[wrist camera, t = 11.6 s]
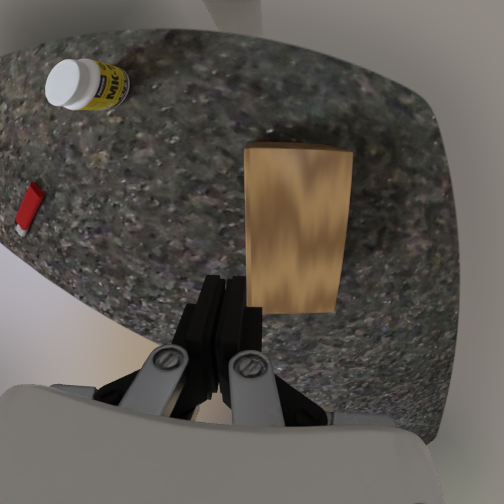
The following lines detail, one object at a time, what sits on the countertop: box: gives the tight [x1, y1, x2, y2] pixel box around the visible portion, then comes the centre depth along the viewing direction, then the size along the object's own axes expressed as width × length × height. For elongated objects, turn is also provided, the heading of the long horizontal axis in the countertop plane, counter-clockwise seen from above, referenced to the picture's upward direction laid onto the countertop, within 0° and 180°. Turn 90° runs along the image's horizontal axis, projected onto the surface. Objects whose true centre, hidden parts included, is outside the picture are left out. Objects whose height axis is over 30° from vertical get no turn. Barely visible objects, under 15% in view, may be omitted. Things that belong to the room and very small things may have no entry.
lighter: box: [15, 182, 44, 236], centre depth 27 cm, size 3×1×8 cm
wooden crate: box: [244, 142, 353, 314], centre depth 23 cm, size 13×8×7 cm
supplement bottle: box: [45, 59, 130, 110], centre depth 18 cm, size 5×5×8 cm
